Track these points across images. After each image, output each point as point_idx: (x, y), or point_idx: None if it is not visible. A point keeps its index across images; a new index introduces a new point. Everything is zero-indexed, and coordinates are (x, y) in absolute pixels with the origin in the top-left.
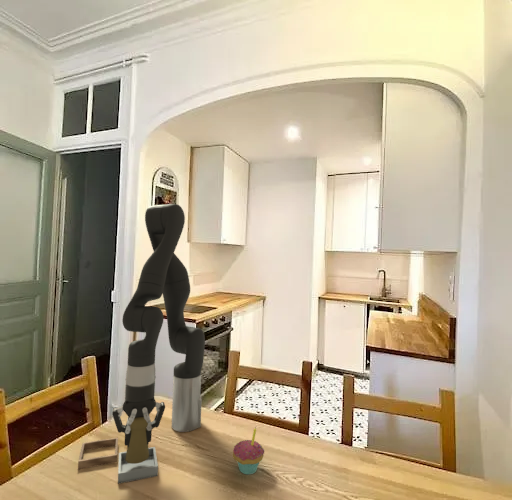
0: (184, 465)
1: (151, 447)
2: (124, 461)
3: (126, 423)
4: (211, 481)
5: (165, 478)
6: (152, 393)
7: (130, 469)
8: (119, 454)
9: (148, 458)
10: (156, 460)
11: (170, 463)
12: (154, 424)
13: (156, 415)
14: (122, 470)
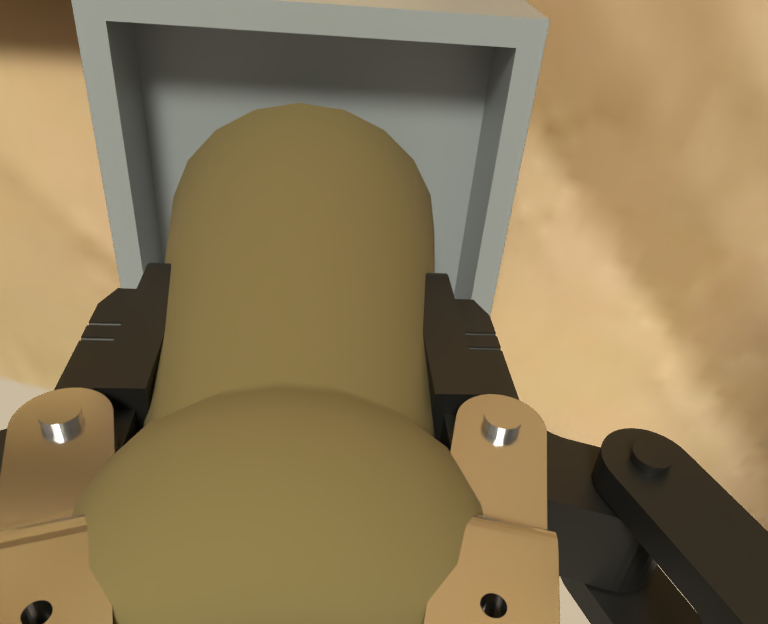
0: (706, 268)
1: (502, 23)
2: (175, 32)
3: (3, 513)
4: (759, 465)
5: (510, 363)
6: None
7: None
8: (85, 36)
9: (439, 75)
10: (488, 296)
11: (616, 201)
12: (569, 588)
13: (703, 611)
14: (171, 192)
